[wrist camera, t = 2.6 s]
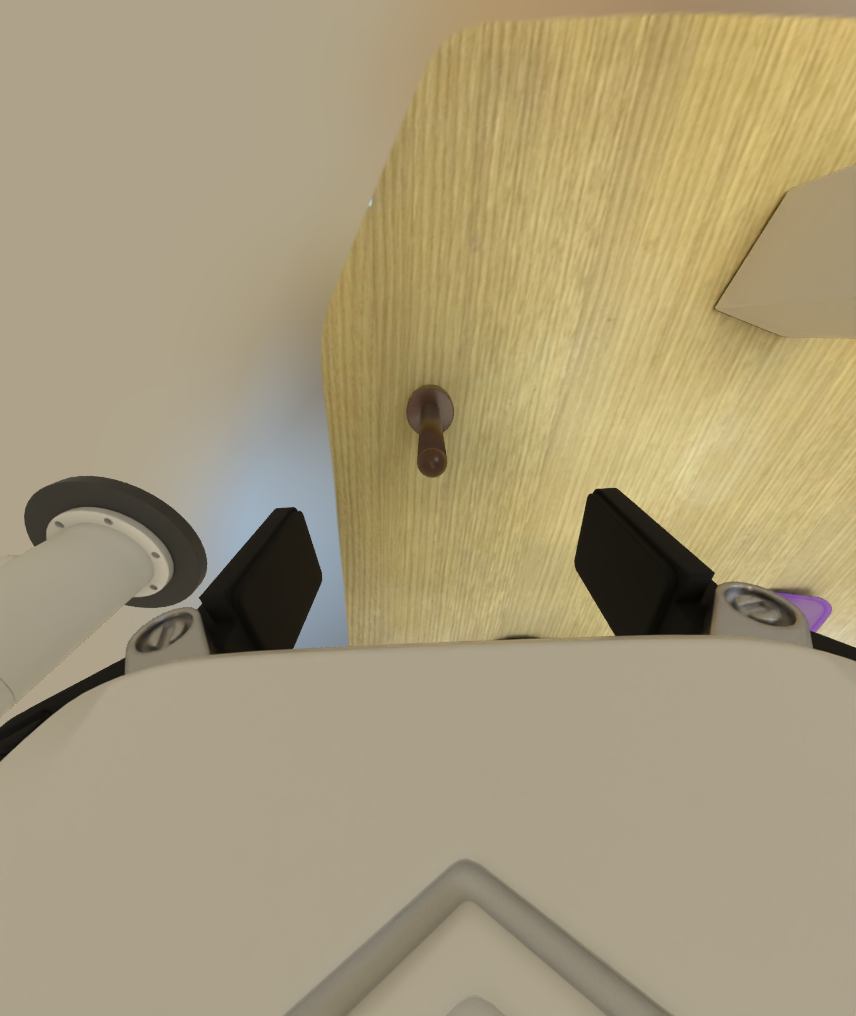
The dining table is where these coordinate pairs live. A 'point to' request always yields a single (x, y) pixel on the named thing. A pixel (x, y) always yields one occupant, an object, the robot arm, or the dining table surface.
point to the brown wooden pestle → (430, 426)
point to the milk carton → (803, 264)
